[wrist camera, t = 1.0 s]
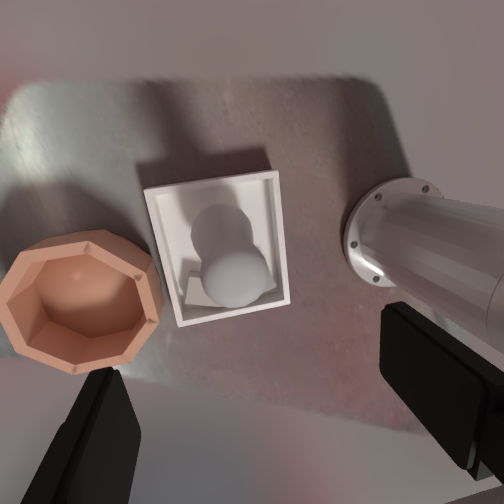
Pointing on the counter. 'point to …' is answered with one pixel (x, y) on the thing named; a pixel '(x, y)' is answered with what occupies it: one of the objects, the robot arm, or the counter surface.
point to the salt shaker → (228, 256)
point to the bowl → (81, 301)
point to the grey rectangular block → (270, 282)
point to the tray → (181, 247)
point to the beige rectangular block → (197, 292)
